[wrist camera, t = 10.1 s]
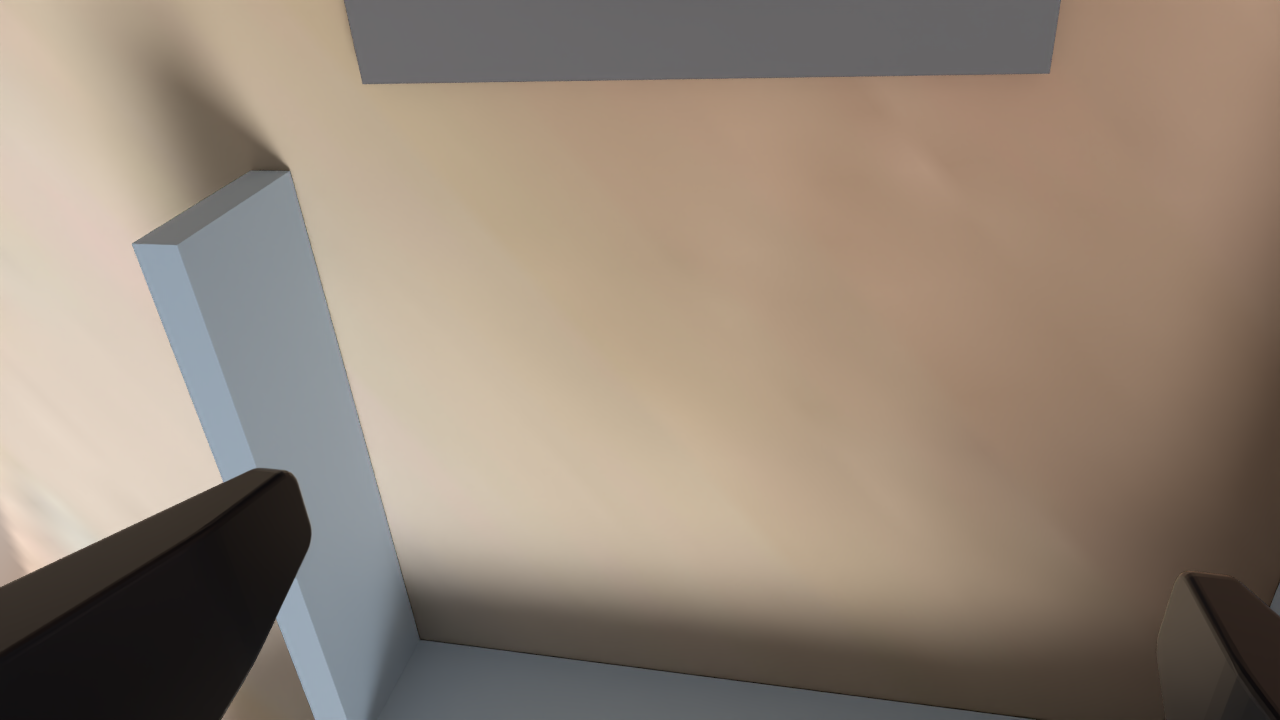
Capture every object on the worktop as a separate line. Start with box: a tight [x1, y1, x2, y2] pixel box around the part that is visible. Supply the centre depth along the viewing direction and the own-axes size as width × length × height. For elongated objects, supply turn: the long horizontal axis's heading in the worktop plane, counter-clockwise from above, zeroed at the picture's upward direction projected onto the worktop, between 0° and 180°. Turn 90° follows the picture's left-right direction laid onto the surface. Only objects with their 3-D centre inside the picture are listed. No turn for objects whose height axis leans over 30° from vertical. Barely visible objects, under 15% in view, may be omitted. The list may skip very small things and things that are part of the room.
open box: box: [132, 171, 1280, 720], centre depth 21 cm, size 24×16×4 cm, turn 94°
